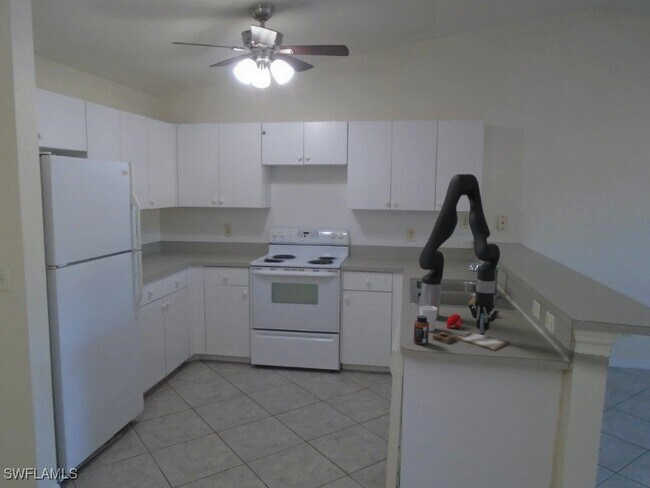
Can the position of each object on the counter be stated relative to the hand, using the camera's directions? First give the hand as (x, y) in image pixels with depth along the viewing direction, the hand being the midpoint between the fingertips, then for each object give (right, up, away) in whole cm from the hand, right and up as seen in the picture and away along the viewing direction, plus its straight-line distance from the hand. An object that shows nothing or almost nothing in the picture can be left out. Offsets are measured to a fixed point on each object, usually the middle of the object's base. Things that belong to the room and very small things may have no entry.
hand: (482, 329), depth 190 cm
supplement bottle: (-28, -5, -7) cm, 29 cm away
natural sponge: (+10, 0, +36) cm, 37 cm away
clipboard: (-2, -4, -3) cm, 6 cm away
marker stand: (-17, -4, -2) cm, 18 cm away
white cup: (-21, -2, +11) cm, 24 cm away
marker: (0, -2, 0) cm, 2 cm away
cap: (-8, -2, +15) cm, 17 cm away
